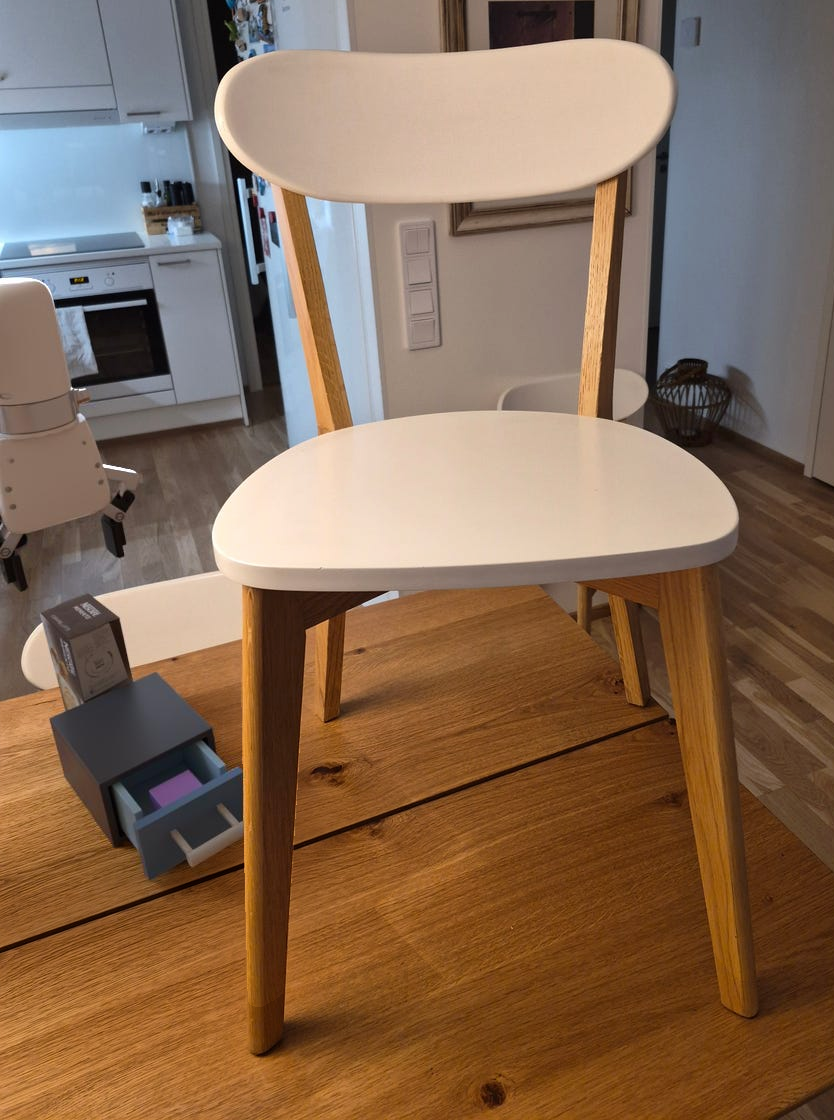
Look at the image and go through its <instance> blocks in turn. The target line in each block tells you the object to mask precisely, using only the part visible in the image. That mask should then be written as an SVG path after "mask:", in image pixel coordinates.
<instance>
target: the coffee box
mask: <svg viewBox="0 0 834 1120" xmlns="http://www.w3.org/2000/svg"><path fill="white" fill-rule="evenodd" d="M39 616H40V620H41V623H42V627H43V632H44V634H45V638H46V642H47V647H48V651H49V654H50V658H51V661H52V665H53V668H54V673H55V677H56V680H57V684H58V687H59V692H60V695H61V699H62V700H61V701H62V703H63V707H64V710H65V711H67V710H70V709H72V708H74V707H76V706H79V705H81V704H83V703H86V702H88V701H90V700H92V699H95V698H97V697H99V696H102V695H104V694H106V693H108V692H111V691H113V690H115V689H117V688H120V687H122V686H124V685H127V684H129V683H131V682H133V681H134V680H133V674H132V669H131V665H130V660H129V655H128V651H127V645H126V641H125V637H124V632H123V628H122V623H121V618H120V616H118V615H117V614H116V613H115V612H113V611H112V610H110V609H109V608H108V607H107V606H106V605H104V604H103V603H102V602H100V601H98V599H96V598H95V597H94V596H93V595H91V594H89V593H88V592H87V593H85V594H82V595H79V596H76V597H73V598H71V599H69V600H66V601H63V602H61V603H57V604H56V605H55V606H54V607H51V608H48V609H45V610H43V611H41V612H39ZM65 711H64V712H65Z"/></svg>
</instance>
